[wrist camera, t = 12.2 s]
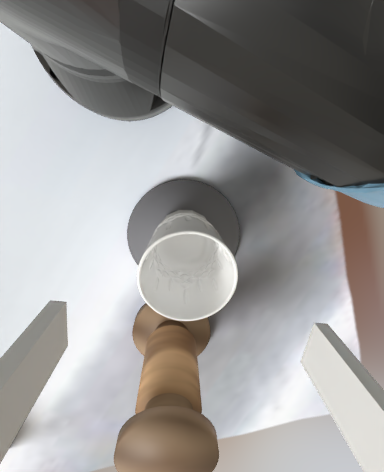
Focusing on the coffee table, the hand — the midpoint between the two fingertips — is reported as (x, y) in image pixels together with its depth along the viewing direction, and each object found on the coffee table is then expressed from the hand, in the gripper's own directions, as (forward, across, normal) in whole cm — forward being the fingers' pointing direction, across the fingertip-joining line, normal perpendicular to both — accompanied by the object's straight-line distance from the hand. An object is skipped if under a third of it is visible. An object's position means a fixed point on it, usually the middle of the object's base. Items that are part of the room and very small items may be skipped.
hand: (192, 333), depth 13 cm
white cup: (+16, 0, 0) cm, 17 cm away
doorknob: (+17, 0, +13) cm, 22 cm away
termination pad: (+17, 0, 0) cm, 17 cm away
